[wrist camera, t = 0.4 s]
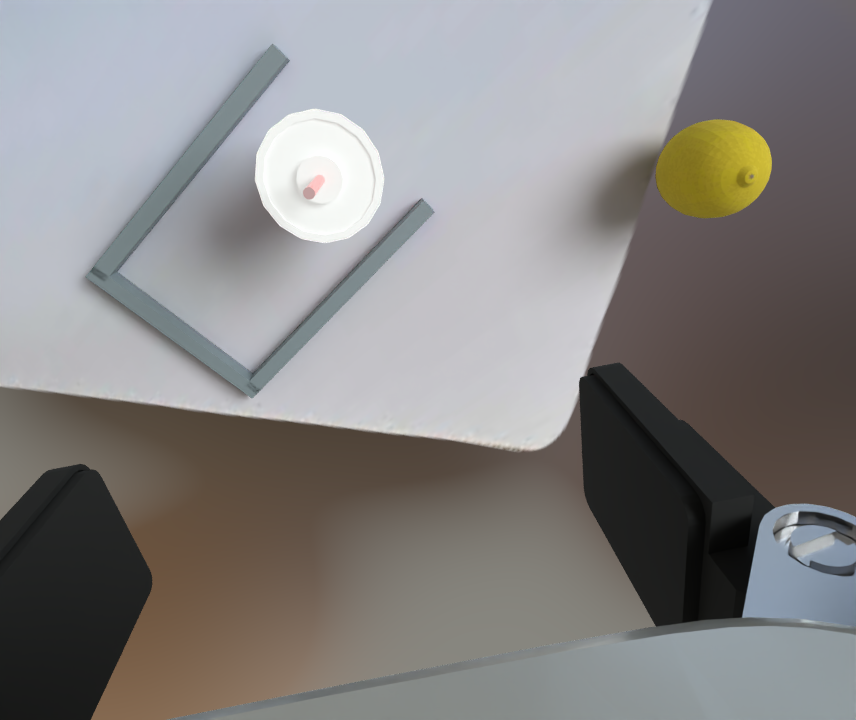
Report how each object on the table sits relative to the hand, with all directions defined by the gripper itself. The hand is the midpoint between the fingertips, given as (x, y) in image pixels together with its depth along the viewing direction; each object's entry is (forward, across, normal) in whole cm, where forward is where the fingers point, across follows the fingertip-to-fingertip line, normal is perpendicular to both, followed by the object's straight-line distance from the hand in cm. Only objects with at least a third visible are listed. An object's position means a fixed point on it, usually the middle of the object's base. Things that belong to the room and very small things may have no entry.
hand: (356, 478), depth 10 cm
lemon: (+28, -21, 0) cm, 35 cm away
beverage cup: (+28, +1, -4) cm, 28 cm away
